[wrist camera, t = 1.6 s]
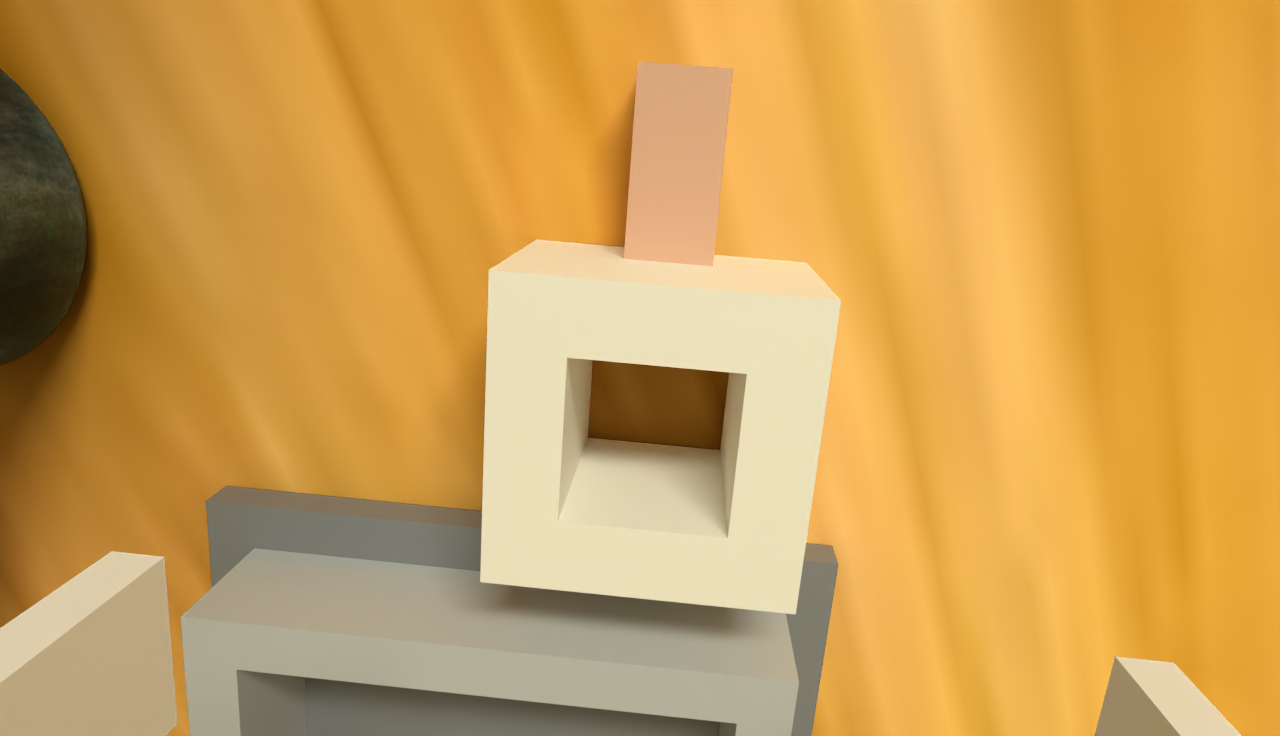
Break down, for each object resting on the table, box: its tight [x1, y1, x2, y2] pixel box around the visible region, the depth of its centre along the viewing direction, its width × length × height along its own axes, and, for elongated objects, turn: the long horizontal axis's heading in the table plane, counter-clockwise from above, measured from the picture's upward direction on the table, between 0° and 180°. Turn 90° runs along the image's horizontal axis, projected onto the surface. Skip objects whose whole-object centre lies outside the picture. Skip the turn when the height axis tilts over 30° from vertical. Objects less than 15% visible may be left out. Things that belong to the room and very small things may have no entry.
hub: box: [480, 62, 841, 614], centre depth 22 cm, size 13×8×6 cm, turn 176°
